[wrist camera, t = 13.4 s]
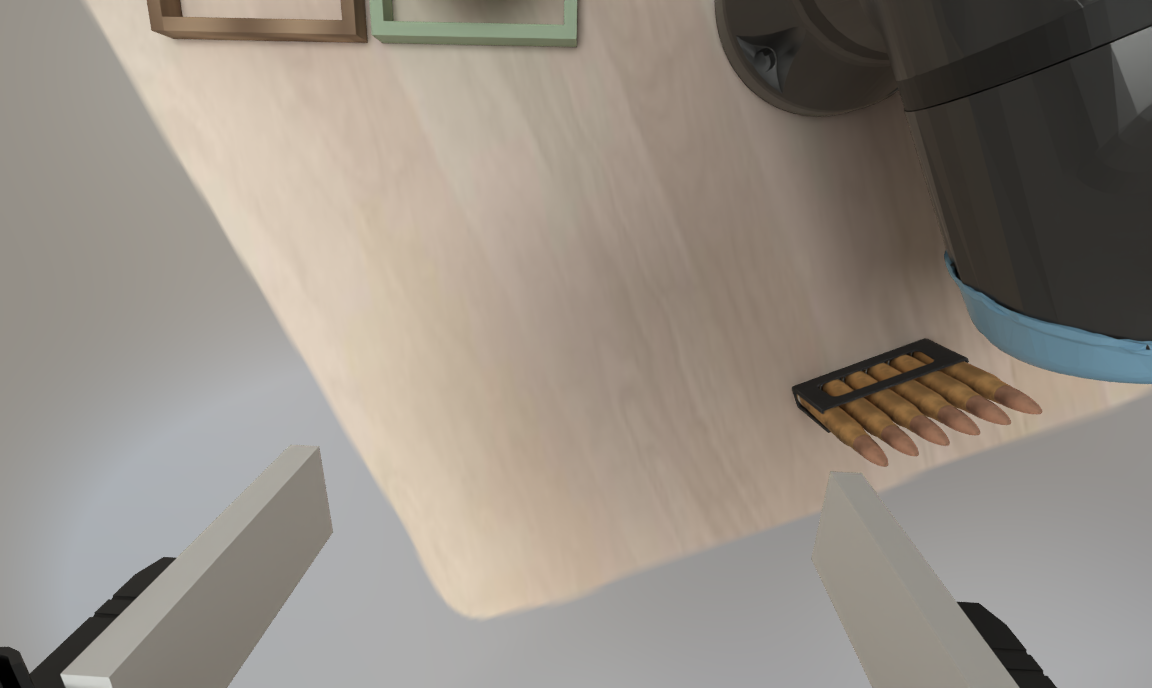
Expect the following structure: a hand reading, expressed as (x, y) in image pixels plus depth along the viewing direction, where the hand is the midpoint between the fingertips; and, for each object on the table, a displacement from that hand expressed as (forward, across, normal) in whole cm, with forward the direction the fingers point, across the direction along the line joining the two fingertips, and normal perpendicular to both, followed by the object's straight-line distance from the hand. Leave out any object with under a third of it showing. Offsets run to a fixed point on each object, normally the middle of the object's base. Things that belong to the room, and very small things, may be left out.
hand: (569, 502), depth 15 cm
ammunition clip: (+29, +21, -8) cm, 37 cm away
